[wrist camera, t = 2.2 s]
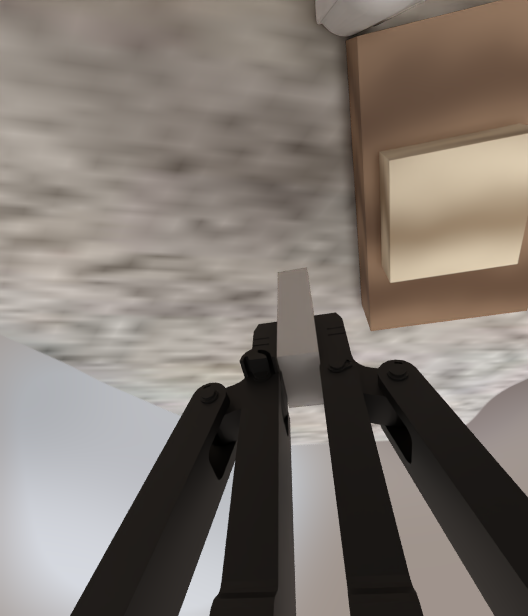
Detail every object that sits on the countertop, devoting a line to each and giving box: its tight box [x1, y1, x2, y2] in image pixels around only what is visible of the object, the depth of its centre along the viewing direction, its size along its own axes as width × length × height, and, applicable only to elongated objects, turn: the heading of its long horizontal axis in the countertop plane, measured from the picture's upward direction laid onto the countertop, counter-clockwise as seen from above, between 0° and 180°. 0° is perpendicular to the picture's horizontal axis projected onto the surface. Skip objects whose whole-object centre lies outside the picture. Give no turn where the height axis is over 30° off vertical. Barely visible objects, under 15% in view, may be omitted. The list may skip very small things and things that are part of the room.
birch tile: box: [379, 123, 528, 283], centre depth 22 cm, size 8×8×2 cm
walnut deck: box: [346, 0, 528, 331], centre depth 25 cm, size 20×12×4 cm, turn 12°
